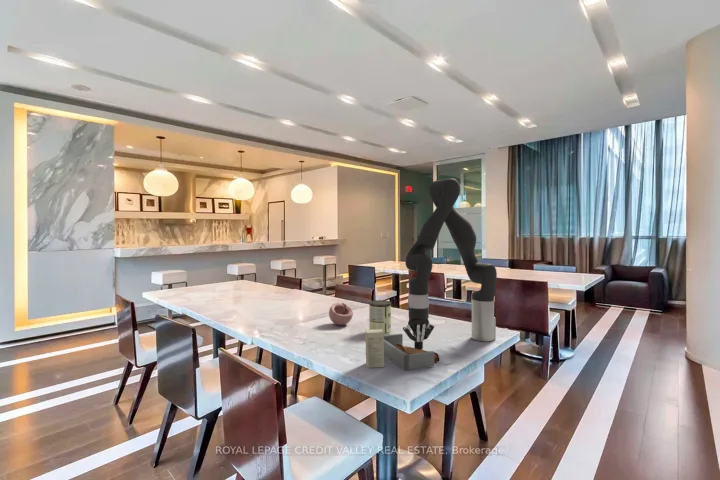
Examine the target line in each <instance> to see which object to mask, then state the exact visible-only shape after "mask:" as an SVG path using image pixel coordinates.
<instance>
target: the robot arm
mask: <svg viewBox="0 0 720 480" xmlns="http://www.w3.org/2000/svg"><path fill="white" fill-rule="evenodd" d="M428 193H429V196H430V199H431V201H432V203H433V205H434V206H435V210H434V211H433V212H432V213H431V215H430V216H429V217H428V218H427V219H426V221H424V223H423V225H422V226H421V229H420V231H419V234H418V237H417V240H416V241H415V243H414V244H413V245H412V247H411V248H410V249H409V251H408V252H407V255H406V257H405V267H406V269H408V271H411V272H416V275H415V277H412V278H411V279H409V283H408V284H409V285H408V287H409V288H408V289H409V291H408V292H409V293H408V322H407V325H406V326H404V327H403V328H402V330H403V332H404V333H405V334H406V335H407V337H408V339H409V340H411V341H414V347H413V348H416V349H420V350H424V349H423V348H424V341H425V340H428V338H429V337H430V335H431V333H432V332H433V330H434V329H435V326H434V325H432V323H430V321H429V317H430V315H429V313H430V312H429V309H430V306H429V305H430V303H429V280H430V278H431V277H430V276H431V274H432V273H431V272H432V269H433V261H432V260H433V259H432V257H431V256H430V255H429V254H427V252H429V251H432V250H433V249H434V248H435V246H436V243H437V240H438V239H439V235H440V232H441V230H442V228H443V225H444V223H445V226H446V227H447V230H448V231H449V233H450V236H451V239H452V241H453V242H454V244H455V246H456V248H457V251H458V254H459V255H460V257H461V260H462V262H463V265H464V269H465V272H466V274H467V276H468V278H469V280H470V281H471V282H472V283H474V284H478V285H481V286H480V289H478V290H477V291H474V292H472V294H471V339H472V340H474V341H478V342H487V343H488V342H492V341H495V340H496V336H497V335H496V334H497V333H496V332H497V331H496V329H497V328H496V327H497V326H496V325H497V323H496V322H497V318H496V317H495V296H496V293H497V292H496V291H497V280H498V279H497V278H498V272H497V268H496V266H495V265H494V264H493V263H486V262H479V260H478V258H477V256H476V254H475V250H476V249H475V248H476V246H477V245H476V244H477V235H476V233H475V230H474V228H473V225H472V224H471V222H470V221H469V220H468V219H467V218H466V217H465V216H464V215H463V214H461V213H460V211H458V210H457V209H456V208H455V207H454V205H455V203H456V202H457V200H458V198H459V197H460V193H461V186H460V183H459V181H458V180H457V179H456V178H452V177H451V178H444V179H438V180H434V181H432V182H431V183H430V184H429V187H428Z"/></svg>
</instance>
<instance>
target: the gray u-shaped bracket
mask: <svg viewBox="0 0 720 480" xmlns="http://www.w3.org/2000/svg"><path fill="white" fill-rule="evenodd" d="M403 335H404V334H403V333H394V334H393V333H392V334H388V335H384V357H387V358H388V359H389V360H390V361H392V362H393V363H394V364H396V365H397V366H399V367H400V368H401V369H402V370H404V371H406V372H407V371H414V370H419V369H426V368H427V369H428V368H431V367H435V364H434V352H435V351H433V350H432V351H429V350H428V351H429V352H422V353H414V354H406V353H404V352H403V351H401V350H400V349H398V348H397V347H396V345H397V344H400V345H403V341H404V340H403ZM403 346H404V345H403Z"/></svg>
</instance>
